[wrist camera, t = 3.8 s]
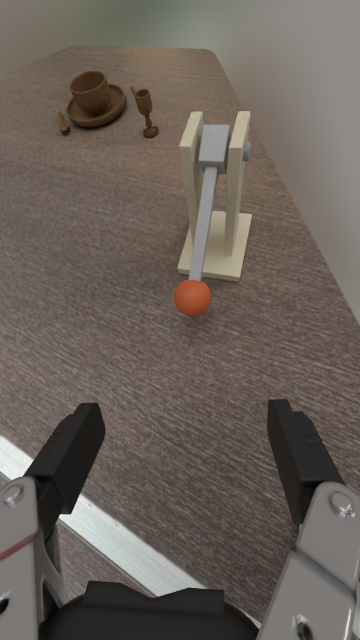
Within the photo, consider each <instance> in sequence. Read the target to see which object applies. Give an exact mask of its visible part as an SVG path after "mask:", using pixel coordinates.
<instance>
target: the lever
mask: <svg viewBox="0 0 360 640" xmlns="http://www.w3.org/2000/svg"><path fill="white" fill-rule="evenodd" d="M230 141H231V136H230V125H204V126H203V132H202V139H201V145H200V152H199V159H198V161H199V164H200V167H201V170H202V173H204V180H203V186H202V193H201V200H200V206H199V213H198V220H197V226H196V233H195V240H194V246H193V253H192V260H191V266H190V273H189V279H188V280H185V281H183V282H181V283H180V284H179V285H178V287H177V288H176V290H175V293H174V302H175V305H176V307H177V309H178V310H179V311H180V312H181V313H183V314H185V315H188V316H197V315H200V314H202V313H203V312H205V311H206V310H207V308H208V307H209V305H210V302H211V293H210V290H209V288H208V286H207V285H206V284H205V283H204V282H202V274H203V268H204V262H205V256H206V249H207V243H208V237H209V231H210V224H211V218H212V212H213V205H214V199H215V193H216V187H217V180H218V174H226V169H227V163H228V154H229V145H230Z"/></svg>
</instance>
